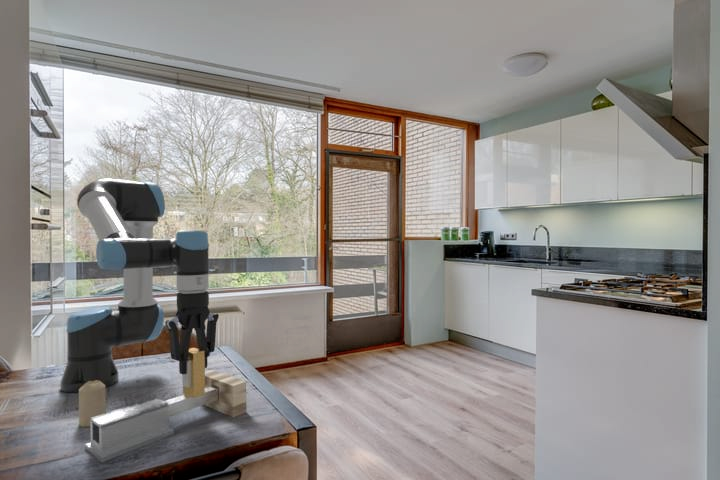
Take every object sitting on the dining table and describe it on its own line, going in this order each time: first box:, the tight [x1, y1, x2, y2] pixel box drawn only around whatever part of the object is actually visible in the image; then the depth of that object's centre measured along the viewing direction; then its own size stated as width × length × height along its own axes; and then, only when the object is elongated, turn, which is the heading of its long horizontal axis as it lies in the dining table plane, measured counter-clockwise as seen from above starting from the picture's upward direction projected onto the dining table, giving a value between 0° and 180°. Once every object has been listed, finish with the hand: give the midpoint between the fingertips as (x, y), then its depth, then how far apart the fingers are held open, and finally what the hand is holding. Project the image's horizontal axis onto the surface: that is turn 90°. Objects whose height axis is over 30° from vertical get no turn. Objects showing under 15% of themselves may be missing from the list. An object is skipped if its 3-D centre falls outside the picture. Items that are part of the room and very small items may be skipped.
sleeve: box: [84, 397, 175, 463], centre depth 91 cm, size 9×15×7 cm, turn 142°
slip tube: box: [163, 347, 219, 418], centre depth 99 cm, size 5×22×14 cm, turn 142°
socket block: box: [204, 369, 247, 418], centre depth 109 cm, size 16×4×8 cm, turn 52°
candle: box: [78, 380, 107, 428], centre depth 101 cm, size 6×6×10 cm
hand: (193, 383), depth 103 cm, fingers closed on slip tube, 3 cm apart
